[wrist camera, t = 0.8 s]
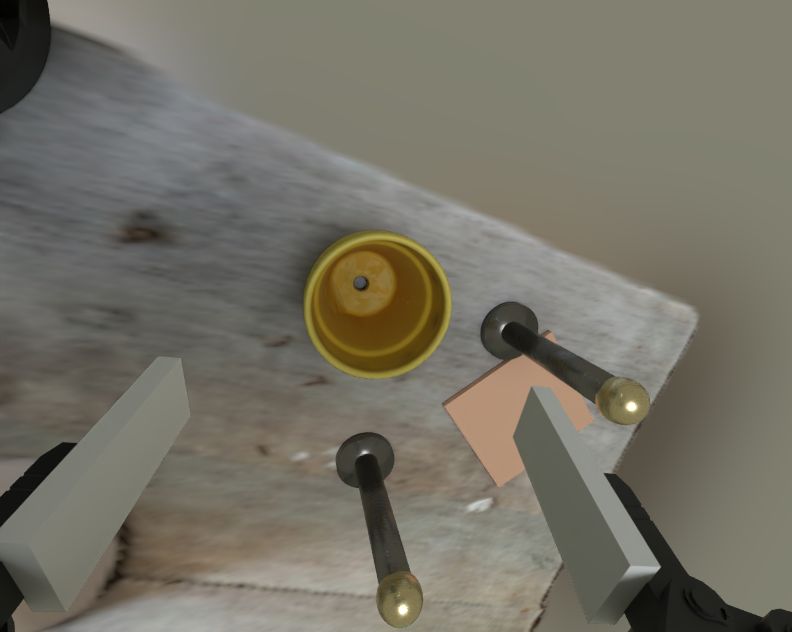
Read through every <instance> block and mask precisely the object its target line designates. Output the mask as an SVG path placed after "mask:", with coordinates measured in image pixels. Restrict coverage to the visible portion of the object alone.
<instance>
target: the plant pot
mask: <svg viewBox="0 0 792 632" xmlns="http://www.w3.org/2000/svg"><path fill="white" fill-rule="evenodd" d="M360 276H363V277H365V278H366V279H367V286H366V288H365V289H362V290H359V289H357V288H356V287H355V285H354V280H355V279H356V278H357V277H360ZM451 312H452V295H451V289H450V285H449V282H448V279H447V276H446V274H445V272H444V270H443V268H442V267H441V265H440V263H439V262H438V261H437V259H436V258H435V257H434V256H433V255H432V254H431V253H430V252H429V251H428V250H427V249H426V248H425V247H423V246H422V245H420V244H419V243H417V242H416V241H414V240H412V239H410V238H408V237H405V236H403V235H400V234H397V233H393V232H389V231H382V230H366V231H360V232H356V233H353V234H350V235H347V236H345V237H343V238H341V239H339V240H338V241H336V242H335V243H333V244H332V245H331V246H329V247H328V248H327V249H326V250H325V251H324V252H323V253H322V254H321V255H320V257H319V258H318V259H317V261H316V262H315V264H314V265H313V267H312V269H311V271H310V273H309V276H308V279H307V282H306V286H305V291H304V299H303V313H304V321H305V326H306V329H307V332H308V335H309V337H310V339H311V341H312V343H313V345H314V347H315V348H316V350H317V351H318V352H319V353H320V355H321V356H322V357H323V358H324V359H325V360H326V361H327V362H329V363H330V364H331V365H332V366H334V367H335V368H337V369H339V370H340V371H342V372H344V373H347V374H349V375H352V376H355V377H359V378H365V379H385V378H391V377H395V376H398V375H401V374H404V373H407V372H409V371H410V370H412V369H414V368H416V367H417V366H419V365H420V364H422V363H423V362H424V361H425V360H426V359H427V358H429V357H430V356H431V354H432V353H433V352H434V351H435V350H436V349H437V347H438V346H439V344H440V343H441V341H442V339H443V338H444V336H445V334H446V331H447V329H448V326H449V322H450V318H451Z"/></svg>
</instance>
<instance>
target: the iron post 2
mask: <svg viewBox="0 0 792 632" xmlns="http://www.w3.org/2000/svg"><path fill="white" fill-rule="evenodd" d="M481 340H482V343H483V345H484V347H485V348H486V349H487V351H489V352H490V353H491V354H492V355H494V356H495V357H497V358H499V359H503V360H511V359H515V358H518V357H520V356H522V355H524V356H526V357H527V358H529V359H530V360H532V361H533V362H535V363H536V364H538V365H539V366H541V367H542V368H543V369H545V370H546V371H548V372H549V373H551V374H552V375H554V376H555V377H557V378H558V379H559V380H561V381H562V382H564V383H565V384H567V385H568V386H570V387H571V388H573V389H574V390H576V391H577V392H578V393H580V394H581V395H583V396H584V397H586V398H587V399H589V400H590V401H592V402H593V403H595V404H596V406H597V408H598V410H599V412H600V413H601V414H602V415H603V416H604V417H605V418H606V419H607V420H609V421H611V422H613V423H616V424H620V425H631V424H635V423H638V422H640V421H641V420H642V419H644V418H645V417H646V415H647V414H648V412H649V409H650V398H649V395H648V393H647V391H646V390H645V388H644V387H643V386H642V385H641V384H640V383H638V382H637V381H635V380H633V379H631V378H627V377H615V376H614V375H612V374H610V373H608V372H606V371H605V370H603V369H601V368H599V367H597V366H596V365H594V364H592V363H590V362H588V361H586V360H585V359H583V358H581V357H579V356H577V355H576V354H574V353H572V352H570V351H568V350H567V349H565V348H563V347H561V346H559V345H558V344H556V343H554V342H552V341H550V340H549V339H547V338H545V337H543V336H541V335H540V334H538V321H537V318H536V316H535V314H534V313H533V311H532V310H530V309H529V308H528V307H526V306H524V305H521V304H519V303H516V302H507V303H503V304H500V305H498V306H497V307H495V308H494V309H492V310H491V311H490V312H489V314H488V315H487V316H486V318H485V319H484V321H483V324H482V328H481Z"/></svg>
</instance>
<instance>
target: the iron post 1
mask: <svg viewBox="0 0 792 632" xmlns="http://www.w3.org/2000/svg"><path fill="white" fill-rule="evenodd" d="M336 465H337V472H338V475H339V477H340V478H341V480H342V481H343V482H344V483H346V484H347V485H349V486H352V487H356V488H359V490H360V495H361V500H362V505H363V510H364V514H365V519H366V524H367V529H368V534H369V539H370V544H371V549H372V554H373V559H374V563H375V568H376V573H377V578H378V583H379V586H378V589H377V595H376V602H377V608H378V611H379V613H380V615H381V617H382V618H383V620H384V621H385V622H386V623H387V624H389V625H391V626H392V627H396V628H404V627H407V626H409V625H411V624H412V623H413V622H414V621H415V620H416V619H417V618H418V616H419V614H420V612H421V609H422V605H423V592H422V588H421V586H420V583H419V581H418V580H417V579H416V577H415V576H414V575H413V574H411V572H410V568H409V565H408V562H407V558H406V555H405V552H404V548H403V545H402V541H401V538H400V535H399V531H398V528H397V525H396V521H395V518H394V515H393V511H392V508H391V504H390V501H389V498H388V494H387V491H386V488H385V484H384V481H383V480H384V479H385V478H386V477H387V476H388V475H389V474H390V472H391V470H392V468H393V465H394V453H393V450H392V448H391V445H390V443H389V442H388V441H387V440H386V439H385V438H384V437H383V436H381V435H379V434H375V433H361V434H358V435H355V436H353V437H351V438H349V439H348V440H347V441H346V442H345V443H343V445H342V446H341V447H340V449H339V451H338V453H337V457H336Z"/></svg>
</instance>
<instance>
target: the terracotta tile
mask: <svg viewBox="0 0 792 632" xmlns="http://www.w3.org/2000/svg"><path fill="white" fill-rule="evenodd" d="M541 336H543V337H545V338H547V339H549V340H550V341H552V342H554V343H556V344H557V342H556V340H555V338H554V336H553V333H552V332H551V331H549V330H548V331H546V332H545V333H543V334H542V335H541ZM531 386H541V387H550V388H551V389H552V391H553V392H554V394H555V396H556V397H557V399H558V401H559V402H560V404H561V405H562V407H563V409H564V410H565V412H566V414H567V415H568V417H569V418H570V420H571V422H572V423H573V425H574V427H575V428H576V430H577V431H580V430H581V429H582V428H584V427H585V426H587V425H588V424H589V423H591V422H592V421H594V420H593V418H592V416H591V414H590V412H589V410H588V408H587V406H586V403H585V401H584V399H583V397H582V395H581V394H580V393H578V392H577V391H576V390H574V389H573V388H571V387H570V386H568V385H567V384H565V383H564V382H562V381H561V380H559V379H558V378H557V377H555V376H554V375H552V374H551V373H549V372H548V371H546V370H545V369H543V368H542V367H541V366H539V365H538V364H536V363H535V362H533V361H532V360H530V359H529V358H527V357H526V356H524V355H522V356H520V357H518V358H515V359H511V360H505V361H503V362H502V363H500V364H499V365H497V366H496V367H494V368H493V369H492V370H490V371H489V372H487V373H486V374H484V375H483V376H481V377H480V378H479V379H477V380H476V381H474V382H473V383H471V384H470V385H469V386H467V387H466V388H464V389H463V390H461V391H460V392H458V393H457V394H456V395H454V396H453V397H451V398H450V399H448V400H447V401H445V402H444V403H443V406H444V407H445V409H446V410H447V412H448V413H449V415H450V416H451V418H452V419H453V420H454V422H455V423H456V425H457V426H458V428H459V429H460V431H461V432H462V434H463V435H464V437H465V438H466V440H467V441H468V443H469V444H470V446H471V447H472V449H473V450H474V452H475V453H476V455H477V456H478V458H479V459H480V461H481V462H482V464H483V465H484V467H485V468H486V470H487V471H488V473H489V474H490V476H491V477H492V479H493V480H494V482H495V483H496V485H497V486H498V487H501V486H502V485H503V484H505V483H506V482H508V481H509V480H511V479H512V478H513V477H515V476H516V475H518V474H519V473H520V472H522V471H523V470H525V466H524V464H523V461H522V459H521V457H520V454H519V452H518V449H517V447H516V444H515V442H514V439H513V435H514V432H515V429H516V427H517V424H518V421H519V419H520V416H521V413H522V410H523V408H524V405H525V402H526V399H527V397H528V394H529V391H530V388H531Z"/></svg>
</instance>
